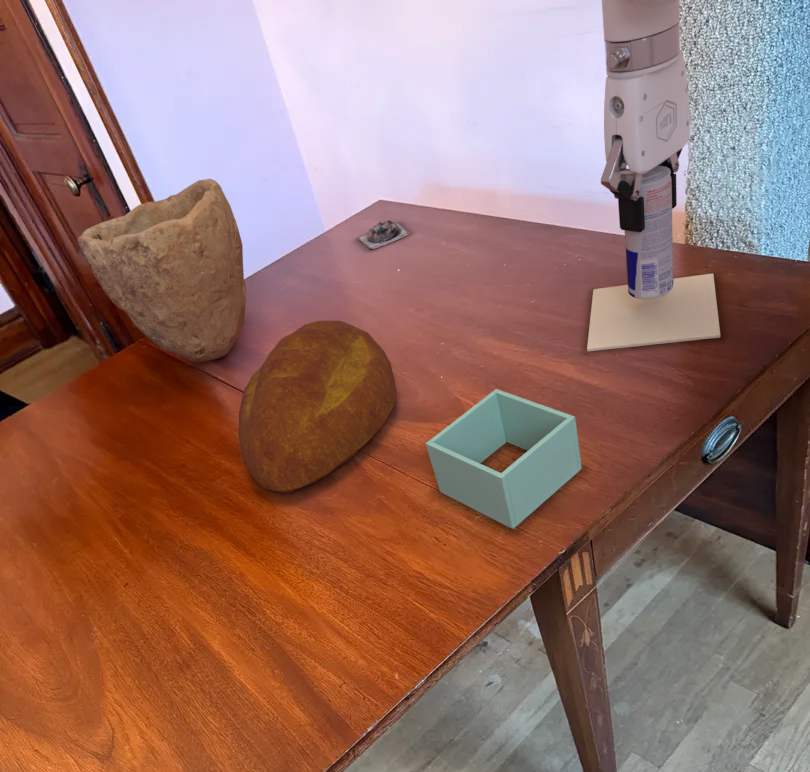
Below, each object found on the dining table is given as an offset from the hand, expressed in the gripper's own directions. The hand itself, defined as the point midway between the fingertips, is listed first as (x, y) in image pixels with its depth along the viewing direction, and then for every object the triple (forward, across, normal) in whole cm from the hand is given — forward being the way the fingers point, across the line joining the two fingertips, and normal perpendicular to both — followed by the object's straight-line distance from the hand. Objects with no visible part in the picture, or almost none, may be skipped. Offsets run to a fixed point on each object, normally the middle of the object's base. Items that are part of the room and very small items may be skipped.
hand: (648, 216), depth 91 cm
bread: (+13, -40, +24) cm, 48 cm away
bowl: (+13, -37, +58) cm, 70 cm away
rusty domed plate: (+13, +6, +64) cm, 65 cm away
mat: (+13, 0, 0) cm, 13 cm away
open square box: (+13, -36, -7) cm, 38 cm away
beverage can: (+10, 0, 0) cm, 10 cm away
